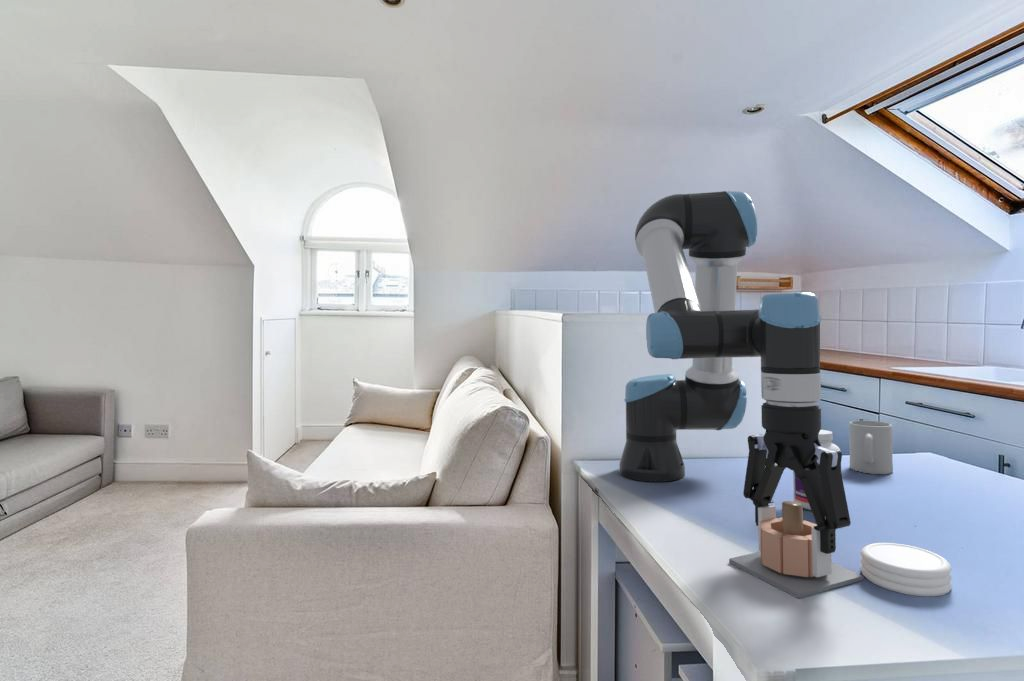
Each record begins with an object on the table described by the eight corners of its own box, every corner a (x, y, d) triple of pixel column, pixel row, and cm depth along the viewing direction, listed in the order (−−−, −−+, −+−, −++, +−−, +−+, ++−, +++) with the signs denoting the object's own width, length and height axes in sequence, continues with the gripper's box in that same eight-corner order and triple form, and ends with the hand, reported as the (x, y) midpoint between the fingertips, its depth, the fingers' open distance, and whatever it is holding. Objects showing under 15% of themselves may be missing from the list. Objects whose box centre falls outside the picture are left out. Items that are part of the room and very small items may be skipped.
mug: (851, 463, 136) (850, 419, 136) (893, 468, 131) (892, 422, 131) (846, 475, 126) (846, 427, 126) (892, 480, 121) (891, 430, 121)
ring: (747, 557, 81) (747, 523, 81) (790, 547, 84) (789, 514, 84) (796, 581, 73) (796, 543, 73) (841, 569, 76) (840, 533, 76)
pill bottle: (849, 514, 101) (847, 435, 100) (801, 513, 102) (799, 435, 102) (832, 500, 109) (831, 427, 108) (788, 499, 110) (787, 427, 110)
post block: (729, 562, 82) (728, 498, 82) (789, 548, 86) (788, 487, 86) (798, 598, 71) (797, 524, 71) (863, 580, 75) (862, 510, 75)
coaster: (971, 592, 71) (971, 565, 71) (908, 603, 69) (907, 575, 69) (901, 561, 81) (900, 538, 81) (844, 570, 79) (843, 545, 79)
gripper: (715, 396, 86) (718, 540, 87) (841, 414, 67) (844, 600, 67) (752, 393, 89) (754, 532, 90) (883, 409, 70) (885, 587, 70)
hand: (793, 561), depth 79 cm, fingers closed on ring, 8 cm apart
